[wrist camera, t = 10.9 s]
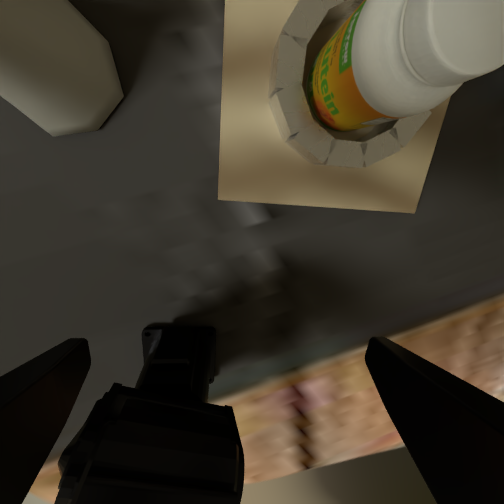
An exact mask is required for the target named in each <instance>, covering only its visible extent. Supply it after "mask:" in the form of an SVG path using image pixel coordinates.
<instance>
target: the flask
mask: <svg viewBox="0 0 504 504" xmlns="http://www.w3.org/2000/svg"><path fill="white" fill-rule="evenodd" d="M0 96H2V97H3V98H4V99H6V100H7V101H8V102H10V103H11V104H12V105H14V106H15V107H16V108H18V109H19V110H20V111H21V112H23V113H24V114H25V115H26V116H28V117H29V118H30V119H31V120H33V121H34V122H35V123H36V124H38V125H39V126H40V127H41V128H43V129H44V130H45V131H47V132H48V133H49V134H51V135H52V136H53V137H55V136H62V135H69V134H76V133H83V132H91V131H98V129H99V128H100V127H101V125H102V124H103V123H104V122H105V120H106V119H107V118H108V116H109V115H110V114H111V112H112V111H113V110H114V109H115V107H116V106H117V105H118V103H119V102H120V101H121V99H122V98H123V97H124V95H123V91H122V88H121V84H120V81H119V77H118V74H117V70H116V67H115V63H114V59H113V56H112V52H111V49H110V45H109V42H108V41H107V40H106V39H105V38H104V37H103V36H102V35H101V34H100V33H99V32H98V31H97V30H96V28H95V27H94V26H93V25H92V24H91V23H90V22H89V21H88V20H87V19H86V18H85V17H84V16H83V15H82V14H81V13H80V12H79V11H78V10H77V9H76V8H75V7H74V6H73V5H72V4H71V3H70V2H69V1H68V0H0Z"/></svg>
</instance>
